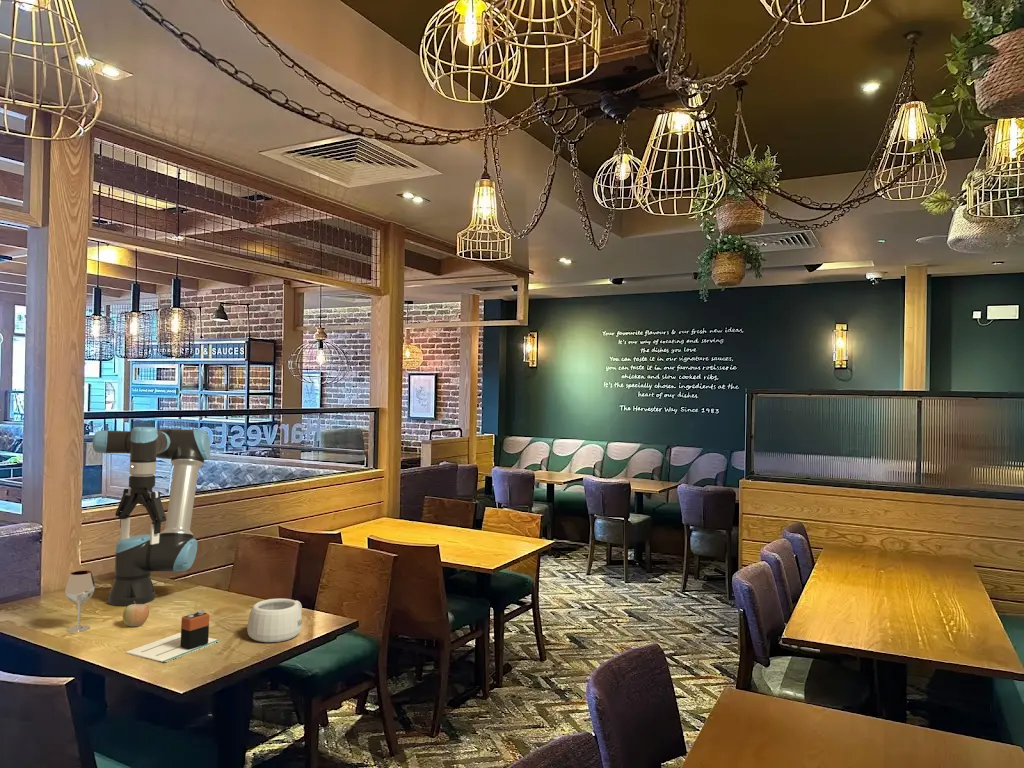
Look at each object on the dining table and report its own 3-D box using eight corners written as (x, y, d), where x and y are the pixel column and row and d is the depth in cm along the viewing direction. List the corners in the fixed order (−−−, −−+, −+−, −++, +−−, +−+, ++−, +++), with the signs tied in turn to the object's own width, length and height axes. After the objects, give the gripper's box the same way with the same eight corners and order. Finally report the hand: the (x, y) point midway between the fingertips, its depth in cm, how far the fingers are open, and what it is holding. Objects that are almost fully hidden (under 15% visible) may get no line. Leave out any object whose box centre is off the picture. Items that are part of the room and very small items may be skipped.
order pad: (182, 632, 220) (182, 631, 220) (220, 641, 213) (220, 640, 213) (125, 653, 201) (125, 651, 201) (164, 663, 195) (164, 661, 195)
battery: (208, 643, 210) (210, 610, 210) (188, 650, 204) (190, 616, 204) (199, 640, 212) (201, 608, 212) (179, 647, 206) (181, 613, 206)
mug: (278, 648, 210) (280, 615, 210) (235, 639, 216) (236, 607, 216) (321, 627, 230) (322, 597, 230) (280, 619, 236) (281, 590, 236)
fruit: (121, 630, 220) (122, 605, 220) (123, 623, 227) (124, 598, 227) (147, 627, 223) (149, 602, 224) (149, 620, 230) (150, 596, 230)
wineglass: (78, 634, 215) (81, 576, 215) (56, 631, 217) (59, 574, 217) (99, 626, 223) (102, 570, 223) (77, 623, 225) (80, 568, 225)
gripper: (105, 473, 222) (101, 538, 222) (160, 479, 212) (156, 547, 212) (126, 471, 229) (123, 535, 229) (180, 476, 219) (177, 543, 219)
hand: (139, 541), depth 220 cm, fingers open, 13 cm apart
